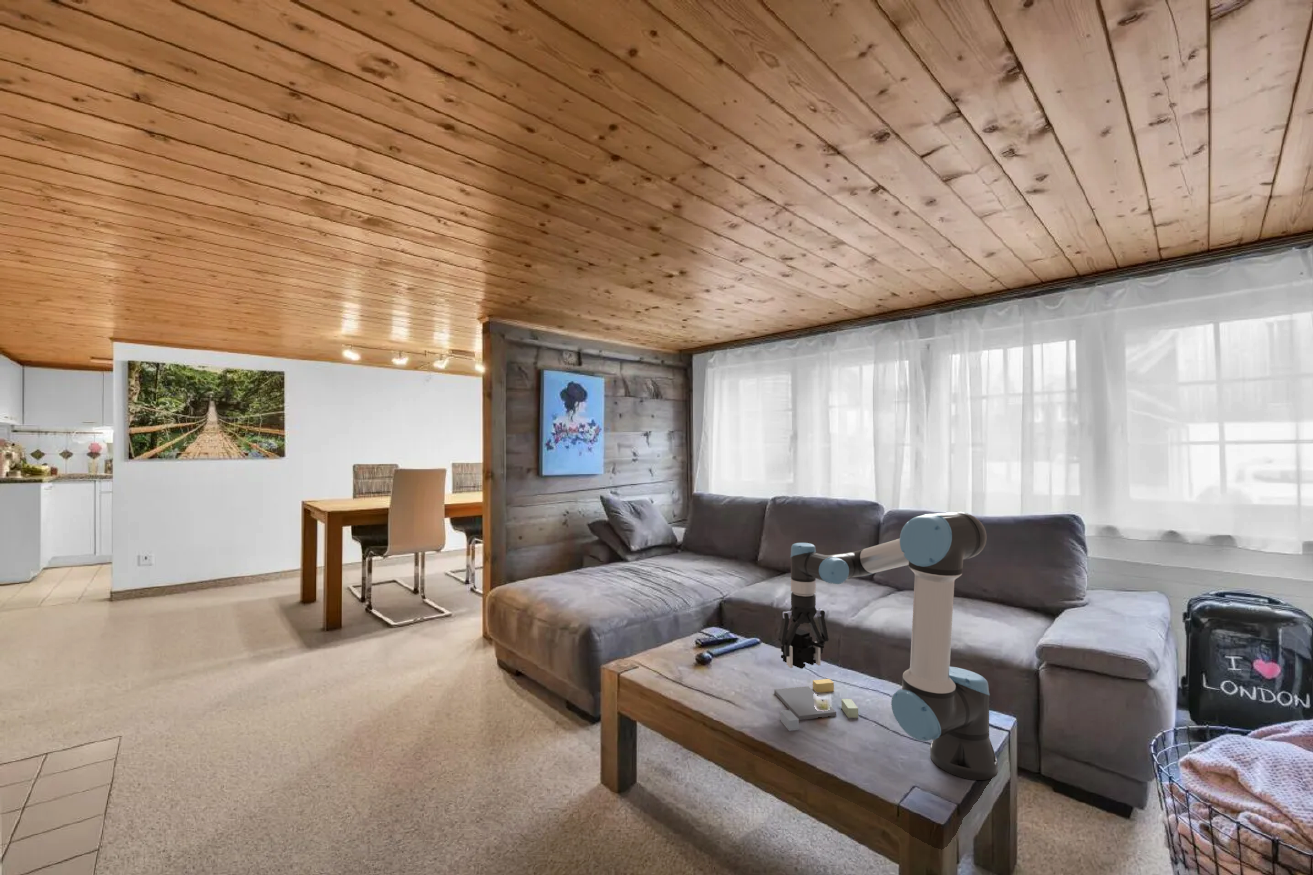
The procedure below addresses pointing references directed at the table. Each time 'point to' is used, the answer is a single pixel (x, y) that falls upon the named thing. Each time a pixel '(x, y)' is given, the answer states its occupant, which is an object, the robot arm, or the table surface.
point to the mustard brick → (823, 685)
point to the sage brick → (849, 708)
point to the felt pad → (801, 702)
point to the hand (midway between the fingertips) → (803, 664)
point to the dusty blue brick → (789, 720)
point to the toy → (802, 649)
